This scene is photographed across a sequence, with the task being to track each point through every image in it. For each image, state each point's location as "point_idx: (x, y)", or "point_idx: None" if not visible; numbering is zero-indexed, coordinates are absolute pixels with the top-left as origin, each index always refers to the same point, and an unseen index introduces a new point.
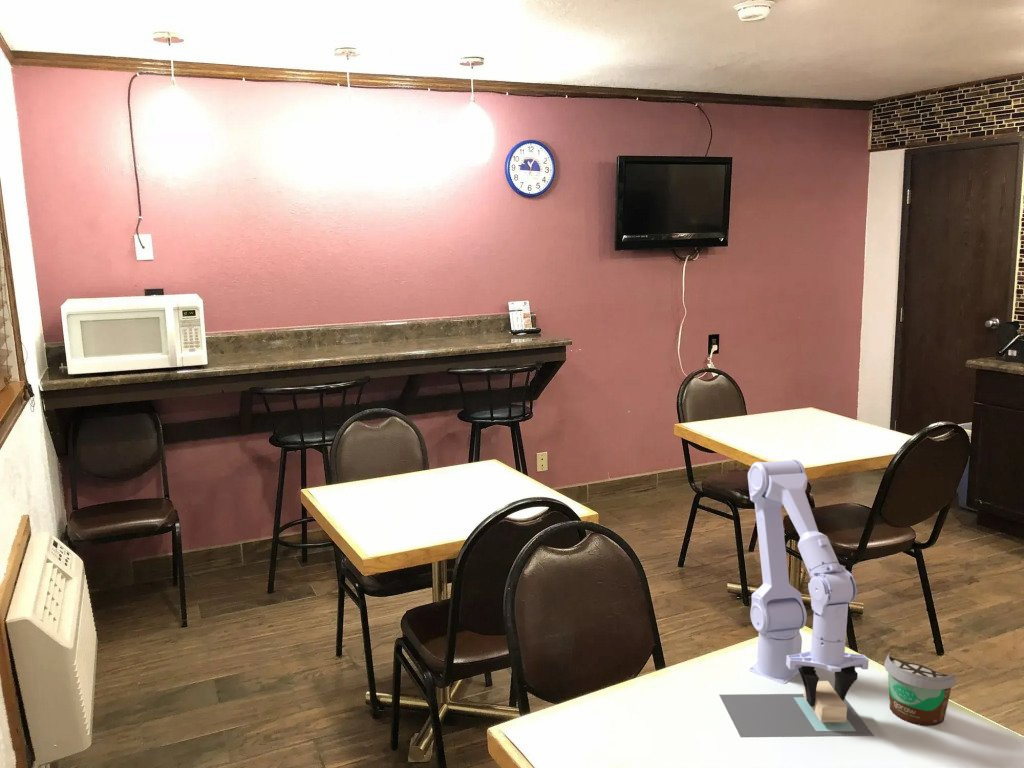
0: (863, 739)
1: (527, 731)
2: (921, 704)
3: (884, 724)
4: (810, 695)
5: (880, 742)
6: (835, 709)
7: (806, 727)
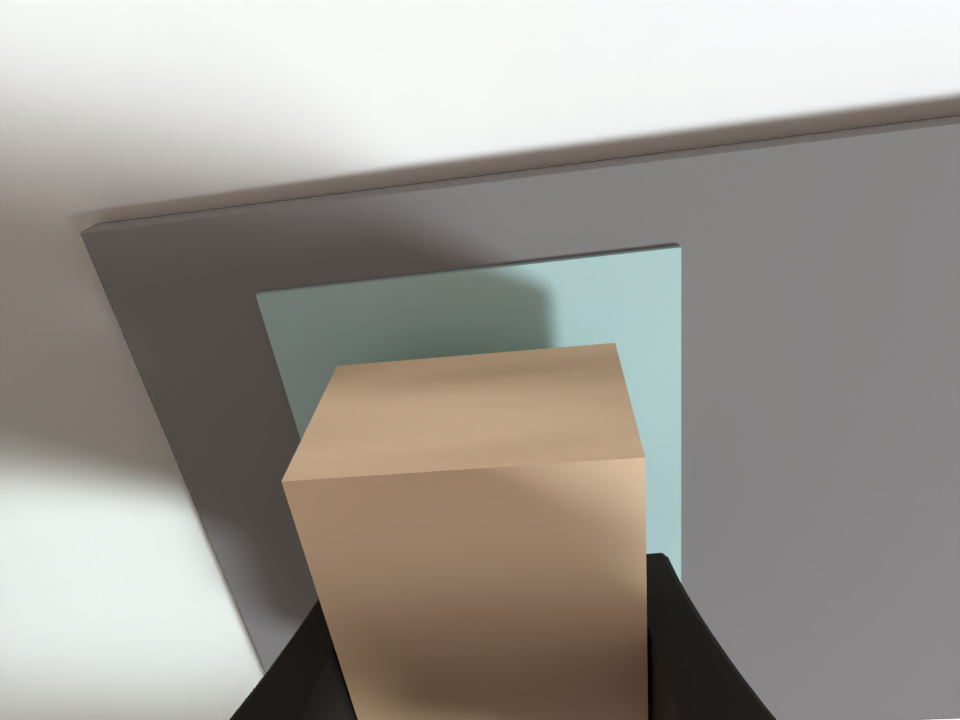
0: (204, 194)
1: None
2: None
3: (6, 442)
4: (727, 660)
5: (39, 158)
6: (449, 445)
7: (757, 309)
